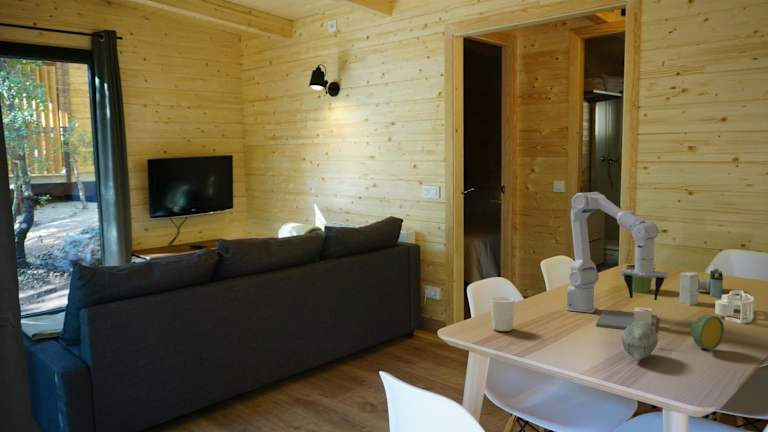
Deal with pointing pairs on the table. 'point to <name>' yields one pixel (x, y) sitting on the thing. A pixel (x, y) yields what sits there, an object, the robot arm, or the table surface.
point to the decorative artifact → (707, 331)
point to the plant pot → (640, 282)
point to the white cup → (502, 313)
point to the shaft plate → (619, 319)
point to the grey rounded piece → (639, 339)
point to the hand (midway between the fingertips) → (643, 298)
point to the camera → (712, 284)
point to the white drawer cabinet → (643, 314)
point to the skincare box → (688, 288)
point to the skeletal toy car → (736, 306)
